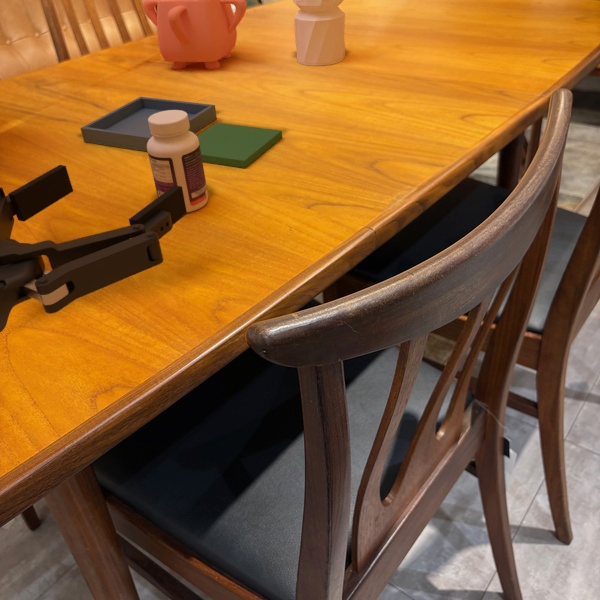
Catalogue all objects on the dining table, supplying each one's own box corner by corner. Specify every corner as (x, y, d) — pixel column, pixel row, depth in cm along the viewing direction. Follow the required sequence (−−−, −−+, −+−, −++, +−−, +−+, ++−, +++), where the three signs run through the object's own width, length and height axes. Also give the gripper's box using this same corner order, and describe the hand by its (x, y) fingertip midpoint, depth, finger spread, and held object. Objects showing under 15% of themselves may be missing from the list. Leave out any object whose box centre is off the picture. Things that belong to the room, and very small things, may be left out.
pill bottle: (203, 188, 70) (189, 103, 64) (213, 208, 66) (199, 120, 60) (156, 197, 69) (137, 112, 63) (163, 219, 65) (143, 129, 59)
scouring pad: (176, 157, 77) (175, 150, 77) (218, 129, 84) (217, 122, 84) (245, 168, 74) (244, 160, 73) (282, 137, 81) (281, 130, 80)
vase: (298, 67, 106) (294, -9, 98) (294, 54, 113) (290, -19, 105) (349, 63, 106) (348, -14, 99) (341, 50, 113) (340, -23, 106)
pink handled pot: (182, 80, 104) (168, -5, 96) (145, 61, 114) (129, -17, 107) (265, 59, 111) (258, -21, 103) (223, 44, 122) (214, -31, 114)
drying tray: (84, 142, 84) (80, 127, 82) (143, 109, 93) (140, 96, 92) (162, 154, 79) (159, 139, 77) (217, 118, 88) (215, 104, 87)
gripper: (-158, 320, 49) (36, 203, 64) (77, 408, 40) (240, 246, 55) (-210, 240, 45) (12, 134, 60) (41, 318, 35) (229, 169, 51)
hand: (121, 188), depth 58 cm, fingers open, 13 cm apart
